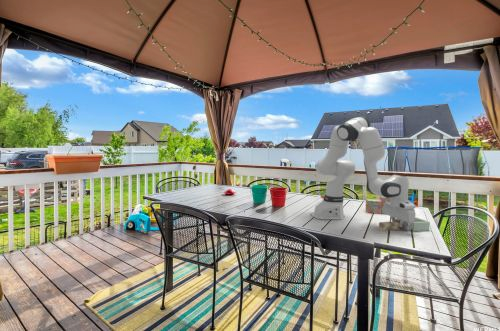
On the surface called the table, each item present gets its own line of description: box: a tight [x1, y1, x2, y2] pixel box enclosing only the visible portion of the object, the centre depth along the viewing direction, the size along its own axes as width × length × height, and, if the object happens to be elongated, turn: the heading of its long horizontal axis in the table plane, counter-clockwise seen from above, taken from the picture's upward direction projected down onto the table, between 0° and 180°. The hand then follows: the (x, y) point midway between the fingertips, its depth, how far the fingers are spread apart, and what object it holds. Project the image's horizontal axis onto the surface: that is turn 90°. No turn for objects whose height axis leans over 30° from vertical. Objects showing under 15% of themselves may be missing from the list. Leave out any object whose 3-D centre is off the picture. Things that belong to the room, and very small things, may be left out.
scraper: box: [378, 218, 409, 232], centre depth 142 cm, size 14×9×4 cm, turn 102°
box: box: [395, 216, 431, 232], centre depth 145 cm, size 11×13×5 cm
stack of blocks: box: [365, 195, 390, 215], centre depth 176 cm, size 21×6×12 cm, turn 78°
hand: (397, 225), depth 143 cm, fingers closed on scraper, 3 cm apart
